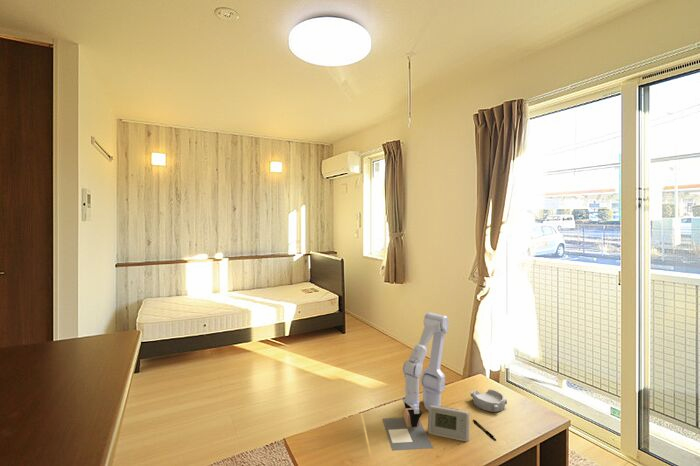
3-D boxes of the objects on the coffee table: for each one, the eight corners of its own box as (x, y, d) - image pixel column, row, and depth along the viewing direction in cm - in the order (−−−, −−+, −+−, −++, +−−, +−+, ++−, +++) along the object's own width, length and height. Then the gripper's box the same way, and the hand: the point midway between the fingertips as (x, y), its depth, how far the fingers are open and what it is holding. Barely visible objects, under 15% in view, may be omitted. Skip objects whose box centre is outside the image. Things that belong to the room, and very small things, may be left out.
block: (404, 419, 143) (404, 408, 143) (415, 419, 144) (415, 407, 144) (407, 426, 138) (407, 415, 138) (419, 426, 139) (419, 414, 139)
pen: (471, 422, 144) (470, 419, 144) (474, 420, 145) (474, 418, 145) (493, 442, 131) (493, 439, 131) (497, 440, 131) (496, 438, 131)
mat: (382, 420, 144) (382, 418, 144) (418, 418, 145) (418, 416, 145) (392, 452, 124) (392, 450, 124) (433, 450, 125) (433, 447, 125)
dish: (466, 401, 160) (466, 391, 160) (487, 394, 166) (487, 385, 166) (490, 417, 147) (491, 406, 147) (512, 409, 153) (512, 399, 153)
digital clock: (425, 434, 135) (426, 409, 134) (431, 423, 142) (432, 399, 142) (467, 448, 126) (467, 421, 126) (471, 435, 134) (471, 410, 134)
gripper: (398, 381, 147) (398, 411, 148) (407, 399, 133) (406, 432, 133) (414, 381, 148) (413, 410, 148) (424, 398, 134) (423, 431, 134)
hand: (411, 420), depth 141 cm, fingers open, 7 cm apart
